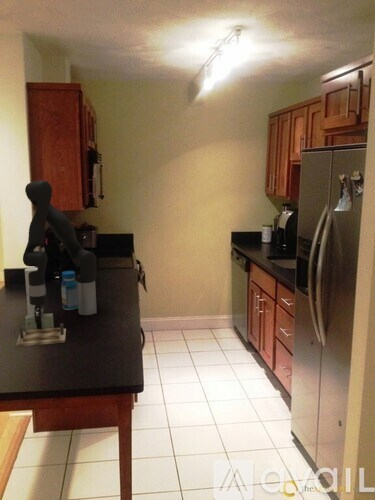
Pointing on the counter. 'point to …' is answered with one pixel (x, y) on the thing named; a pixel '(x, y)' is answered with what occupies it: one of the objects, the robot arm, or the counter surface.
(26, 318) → the rectangular block
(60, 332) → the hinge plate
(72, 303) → the blue pill bottle
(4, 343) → the counter surface
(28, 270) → the cylindrical container
